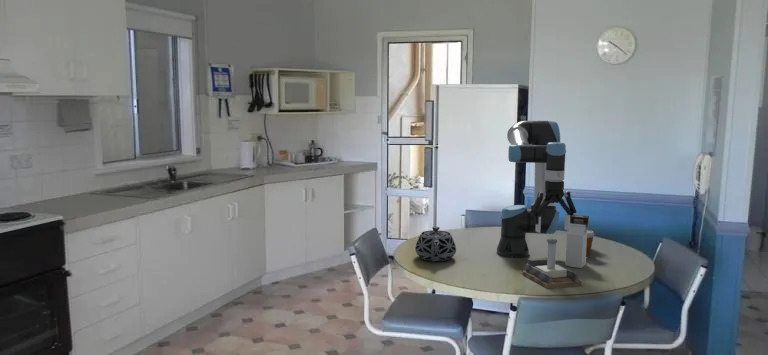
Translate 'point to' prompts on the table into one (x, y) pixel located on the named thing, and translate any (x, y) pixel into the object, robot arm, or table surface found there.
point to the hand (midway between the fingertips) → (552, 231)
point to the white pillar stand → (552, 262)
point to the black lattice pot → (435, 245)
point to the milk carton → (576, 246)
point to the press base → (546, 279)
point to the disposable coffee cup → (589, 242)
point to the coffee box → (580, 220)
